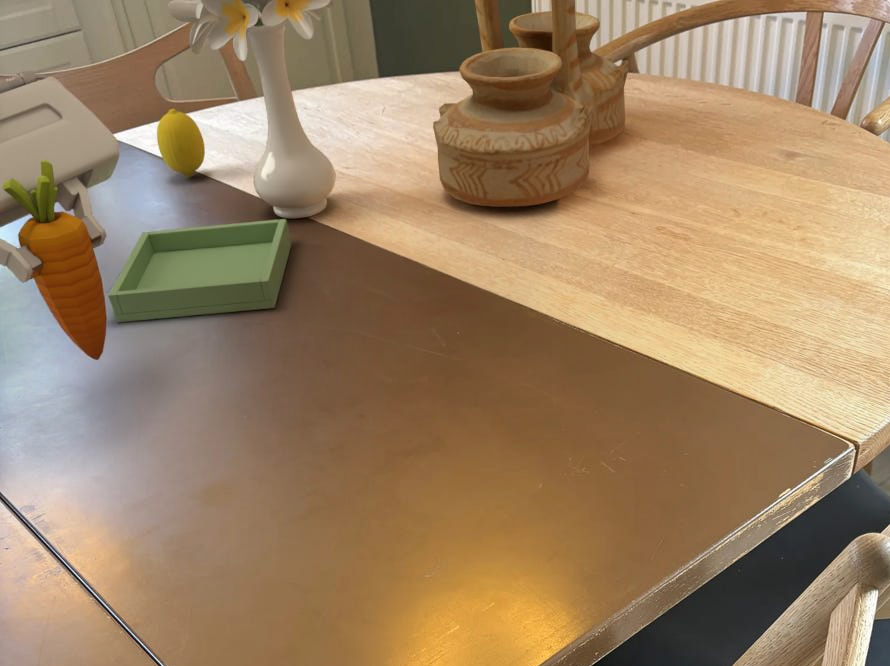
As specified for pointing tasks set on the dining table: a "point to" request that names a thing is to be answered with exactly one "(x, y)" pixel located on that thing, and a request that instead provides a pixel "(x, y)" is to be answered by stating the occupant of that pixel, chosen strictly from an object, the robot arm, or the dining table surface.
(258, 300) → the green tray
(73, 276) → the carrot
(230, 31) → the flower vase
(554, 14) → the ceramic vessel
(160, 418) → the dining table surface
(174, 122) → the lemon
